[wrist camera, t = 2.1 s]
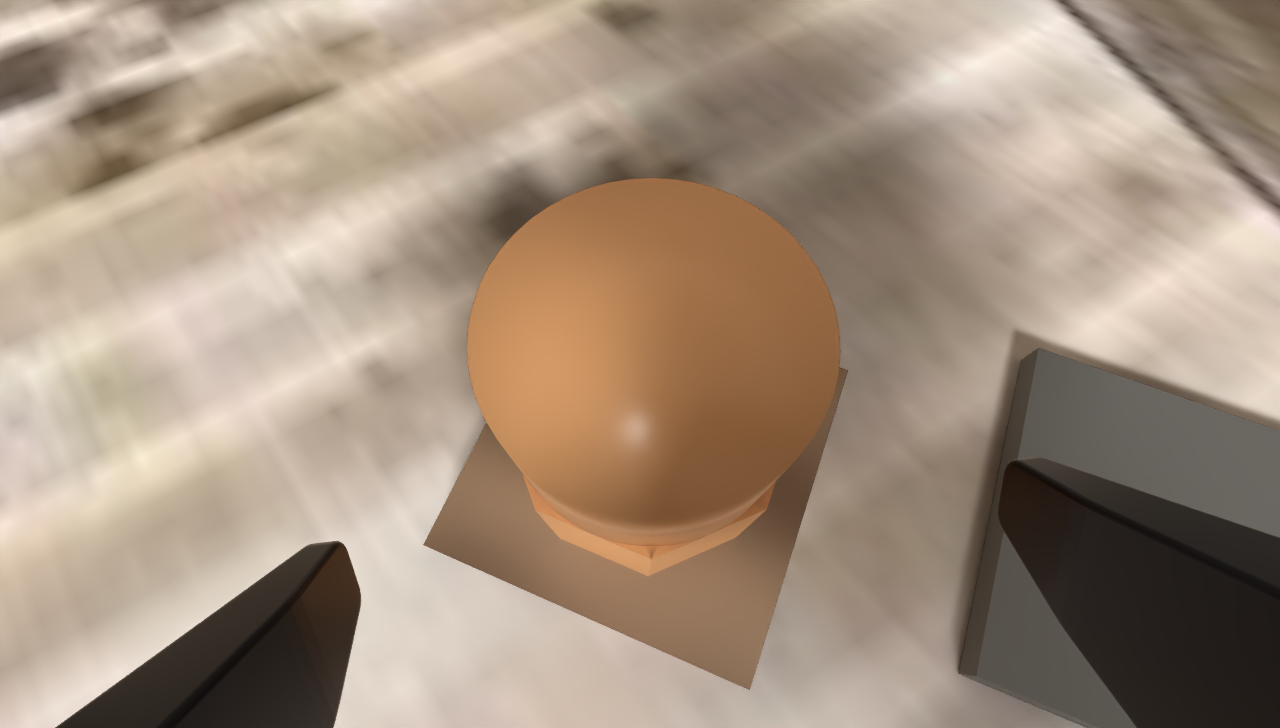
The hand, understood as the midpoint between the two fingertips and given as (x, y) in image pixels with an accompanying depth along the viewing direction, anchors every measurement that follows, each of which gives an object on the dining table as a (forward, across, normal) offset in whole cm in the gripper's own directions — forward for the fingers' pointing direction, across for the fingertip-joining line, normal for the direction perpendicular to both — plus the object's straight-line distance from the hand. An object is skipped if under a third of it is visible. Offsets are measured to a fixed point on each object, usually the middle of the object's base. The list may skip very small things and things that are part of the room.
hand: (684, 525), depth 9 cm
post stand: (+10, 0, +5) cm, 11 cm away
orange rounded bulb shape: (+8, 0, +4) cm, 9 cm away
